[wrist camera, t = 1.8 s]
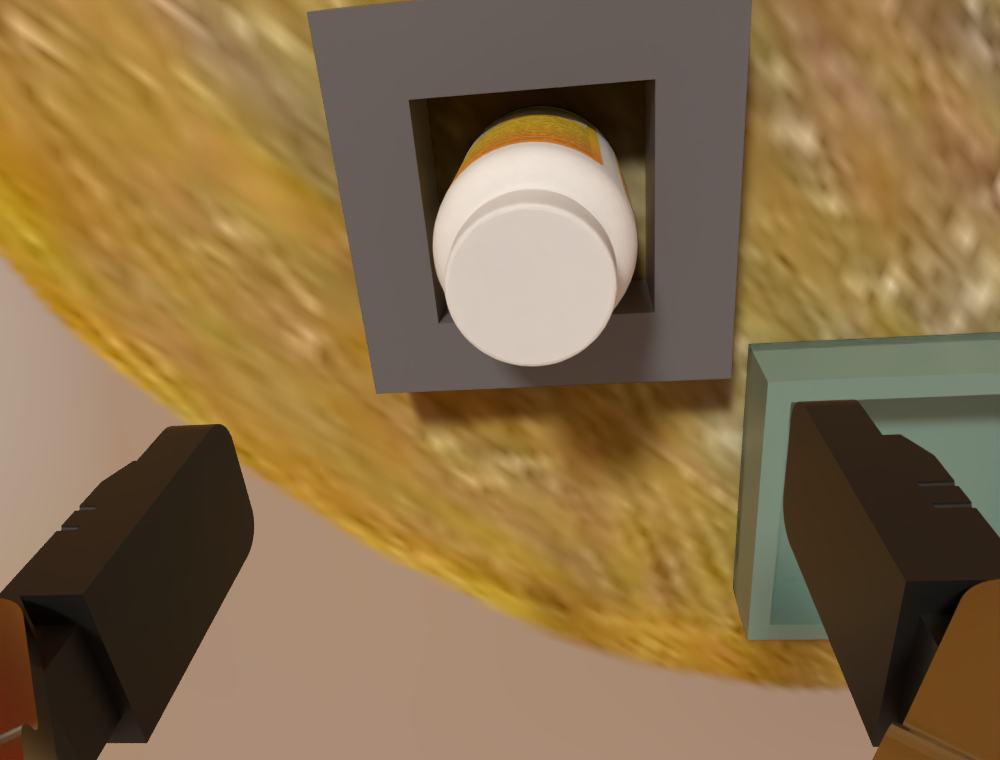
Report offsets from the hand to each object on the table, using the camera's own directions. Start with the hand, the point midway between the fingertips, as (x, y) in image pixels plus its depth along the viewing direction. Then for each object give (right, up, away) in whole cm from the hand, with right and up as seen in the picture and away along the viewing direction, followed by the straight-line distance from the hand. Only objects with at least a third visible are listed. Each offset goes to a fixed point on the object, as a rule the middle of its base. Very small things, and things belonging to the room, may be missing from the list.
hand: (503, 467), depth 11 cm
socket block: (+1, +8, +15) cm, 17 cm away
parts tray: (+15, -2, +19) cm, 25 cm away
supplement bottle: (+1, +8, +15) cm, 17 cm away
